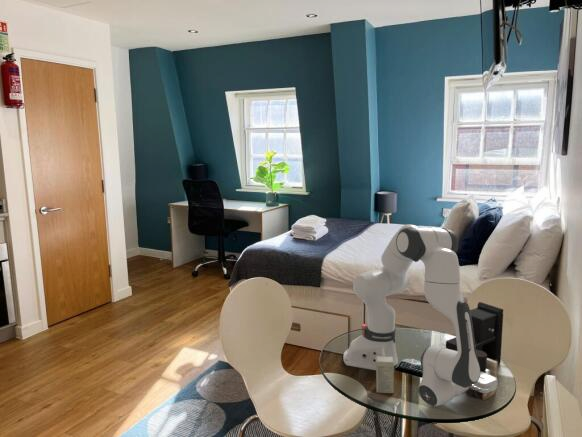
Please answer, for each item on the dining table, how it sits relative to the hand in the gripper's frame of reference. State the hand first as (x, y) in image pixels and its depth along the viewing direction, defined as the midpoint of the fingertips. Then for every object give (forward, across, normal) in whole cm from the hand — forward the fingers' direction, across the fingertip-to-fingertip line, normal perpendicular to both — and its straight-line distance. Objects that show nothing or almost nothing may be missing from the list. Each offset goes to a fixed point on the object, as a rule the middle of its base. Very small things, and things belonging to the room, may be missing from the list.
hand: (478, 367), depth 157 cm
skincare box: (-25, +22, +10) cm, 34 cm away
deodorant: (-1, 0, +10) cm, 10 cm away
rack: (+1, 0, +9) cm, 10 cm away
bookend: (+16, +12, +10) cm, 22 cm away
